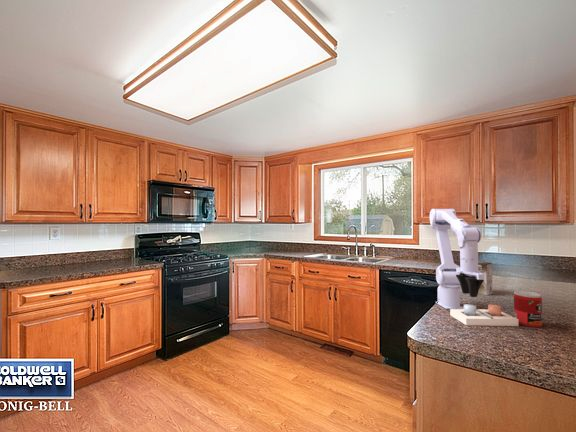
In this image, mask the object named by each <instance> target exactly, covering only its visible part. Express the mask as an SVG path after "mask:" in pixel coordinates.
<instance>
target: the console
mask: <svg viewBox="0 0 576 432" xmlns="http://www.w3.org/2000/svg"><path fill="white" fill-rule="evenodd" d="M449 311H450V312H449V315H450V316H451V317H452V318H454V319H456V320H457V321H459V322H460V323H463V324H464V325H465V326H479V327H481V326H483V327H485V326H487V327H488V326H492V327H494V326H495V327H497V326H498V327H519V325H520V324H518V319H517V318H515V317H514V316H512V315H510V314H508V313H505V312H504V311H501V316H491V315H489V314H488V308H487V309H483V308H482V309H479V308H478V309H477V308H476V316H466V315H465V314H464V309H449Z"/></svg>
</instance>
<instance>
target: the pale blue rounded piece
mask: <svg viewBox="0 0 576 432" xmlns="http://www.w3.org/2000/svg"><path fill="white" fill-rule="evenodd" d="M463 307H464V314H465V315H466V316H476V309H477V305H473V304H470V303H469V304H467V303H466V304H465V303H464V304H463Z"/></svg>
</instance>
